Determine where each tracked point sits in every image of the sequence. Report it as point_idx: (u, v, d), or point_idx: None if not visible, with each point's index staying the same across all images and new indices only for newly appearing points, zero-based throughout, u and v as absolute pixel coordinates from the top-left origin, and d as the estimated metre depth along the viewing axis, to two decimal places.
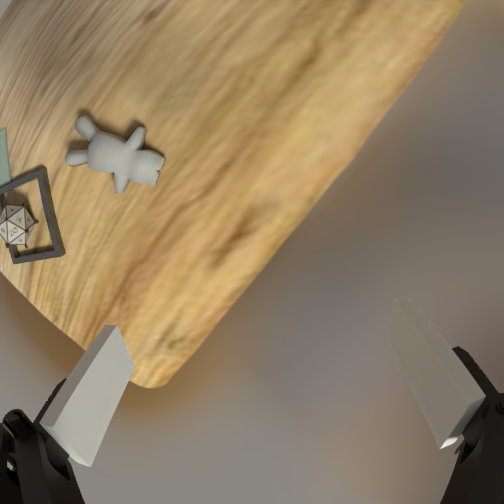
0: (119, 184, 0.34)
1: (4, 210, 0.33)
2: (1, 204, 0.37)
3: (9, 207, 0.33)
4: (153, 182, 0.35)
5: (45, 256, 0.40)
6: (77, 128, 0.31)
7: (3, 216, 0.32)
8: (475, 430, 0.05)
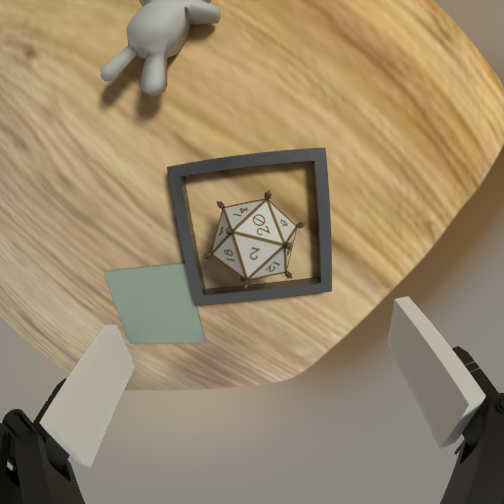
0: (203, 5, 0.18)
1: (219, 252, 0.25)
2: (220, 293, 0.31)
3: (216, 240, 0.25)
4: None
5: (324, 191, 0.27)
6: (112, 75, 0.21)
7: (228, 251, 0.24)
8: (475, 430, 0.05)
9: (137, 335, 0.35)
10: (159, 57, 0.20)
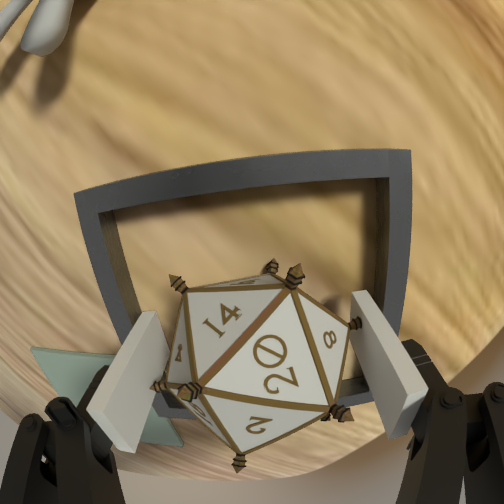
0: None
1: None
2: None
3: (172, 367, 0.10)
4: None
5: (402, 242, 0.12)
6: None
7: (195, 405, 0.09)
8: (422, 426, 0.06)
9: None
10: None
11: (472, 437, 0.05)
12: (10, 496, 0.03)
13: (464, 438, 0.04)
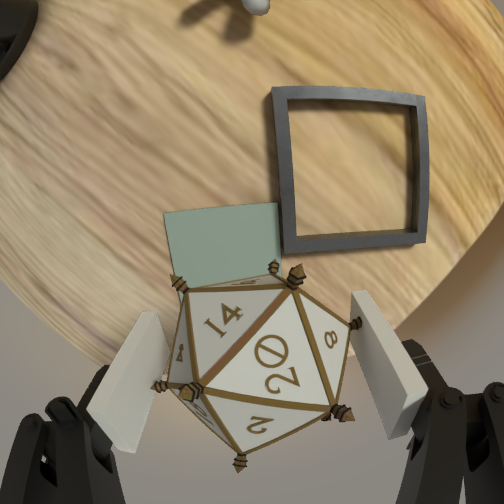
0: None
1: None
2: (316, 239, 0.26)
3: (173, 367, 0.10)
4: None
5: (424, 136, 0.22)
6: None
7: (196, 405, 0.09)
8: (421, 426, 0.06)
9: None
10: None
11: (471, 437, 0.05)
12: (10, 496, 0.03)
13: (464, 438, 0.04)
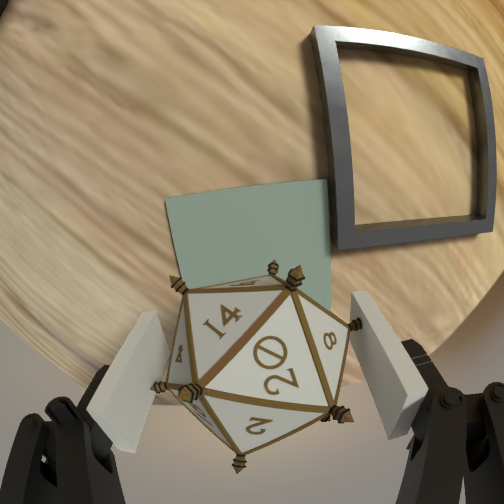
0: None
1: None
2: (379, 229, 0.18)
3: (172, 368, 0.10)
4: None
5: (489, 103, 0.14)
6: None
7: (195, 406, 0.09)
8: (421, 426, 0.06)
9: None
10: None
11: (471, 437, 0.05)
12: (10, 496, 0.03)
13: (464, 438, 0.04)
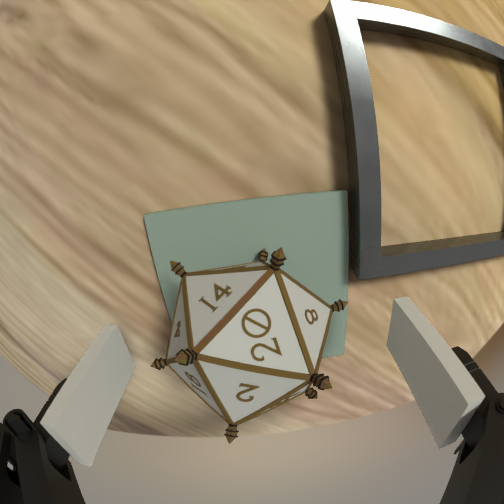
0: None
1: (177, 369, 0.11)
2: (408, 253, 0.14)
3: (171, 344, 0.12)
4: None
5: None
6: None
7: (191, 376, 0.10)
8: (474, 430, 0.05)
9: None
10: None
11: None
12: None
13: None
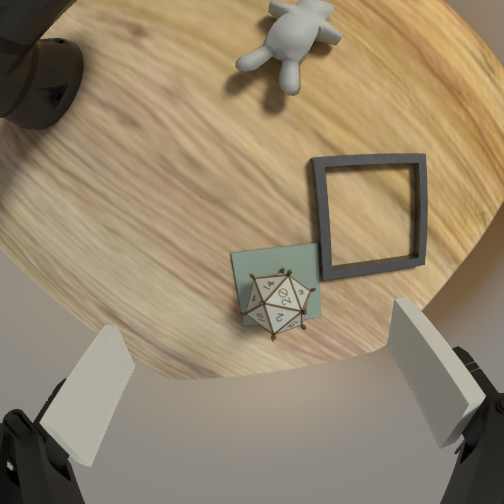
0: (332, 29, 0.23)
1: (252, 314, 0.32)
2: (345, 268, 0.35)
3: (250, 304, 0.33)
4: (331, 5, 0.23)
5: (424, 186, 0.31)
6: (251, 67, 0.26)
7: (259, 314, 0.31)
8: (475, 430, 0.05)
9: None
10: (296, 63, 0.25)
11: None
12: None
13: None
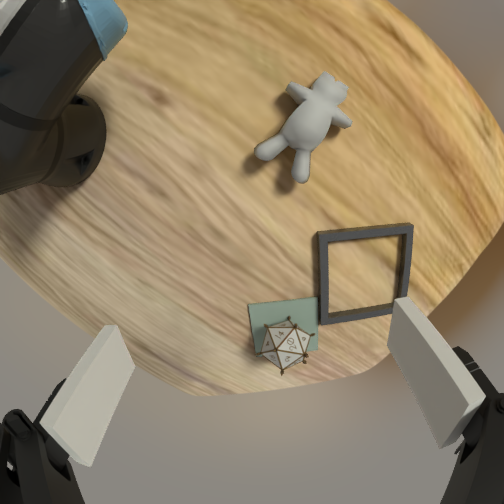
0: (343, 117, 0.31)
1: (266, 354, 0.41)
2: (339, 316, 0.44)
3: (264, 347, 0.41)
4: (345, 86, 0.31)
5: (409, 251, 0.39)
6: (268, 157, 0.33)
7: (272, 356, 0.40)
8: (475, 430, 0.05)
9: None
10: (308, 154, 0.33)
11: None
12: None
13: None
